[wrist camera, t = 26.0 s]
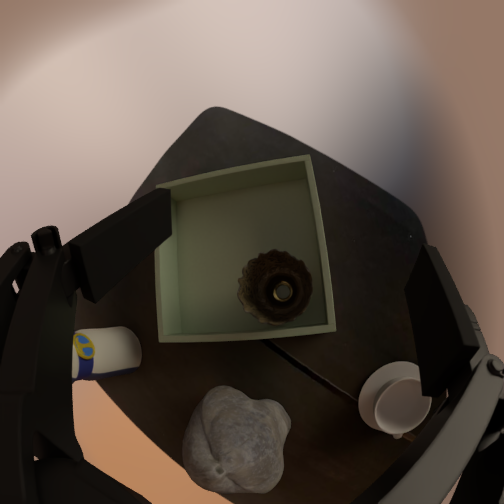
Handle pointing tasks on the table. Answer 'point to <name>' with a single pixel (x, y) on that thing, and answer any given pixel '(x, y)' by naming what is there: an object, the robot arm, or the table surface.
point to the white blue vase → (104, 353)
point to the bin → (239, 250)
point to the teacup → (394, 399)
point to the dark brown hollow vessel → (275, 287)
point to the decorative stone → (235, 442)
